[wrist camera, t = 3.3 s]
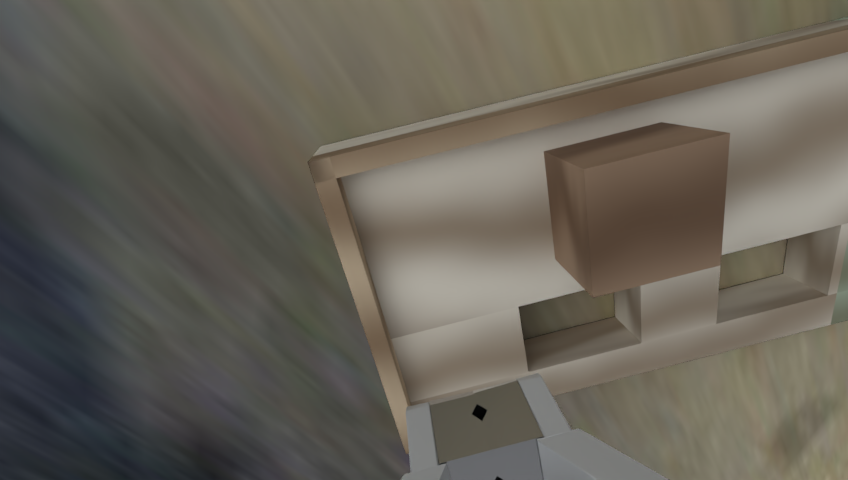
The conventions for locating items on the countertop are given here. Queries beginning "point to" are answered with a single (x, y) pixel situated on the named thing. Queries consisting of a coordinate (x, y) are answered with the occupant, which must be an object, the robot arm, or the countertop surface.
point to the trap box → (532, 231)
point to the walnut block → (638, 205)
